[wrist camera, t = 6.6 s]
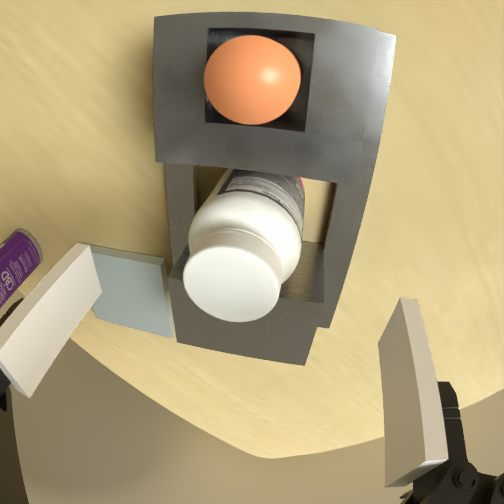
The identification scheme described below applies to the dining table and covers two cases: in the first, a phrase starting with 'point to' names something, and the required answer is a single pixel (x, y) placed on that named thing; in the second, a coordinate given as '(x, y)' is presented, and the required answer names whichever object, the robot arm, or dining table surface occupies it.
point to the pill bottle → (245, 244)
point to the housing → (272, 159)
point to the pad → (133, 290)
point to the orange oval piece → (252, 79)
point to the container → (17, 261)
